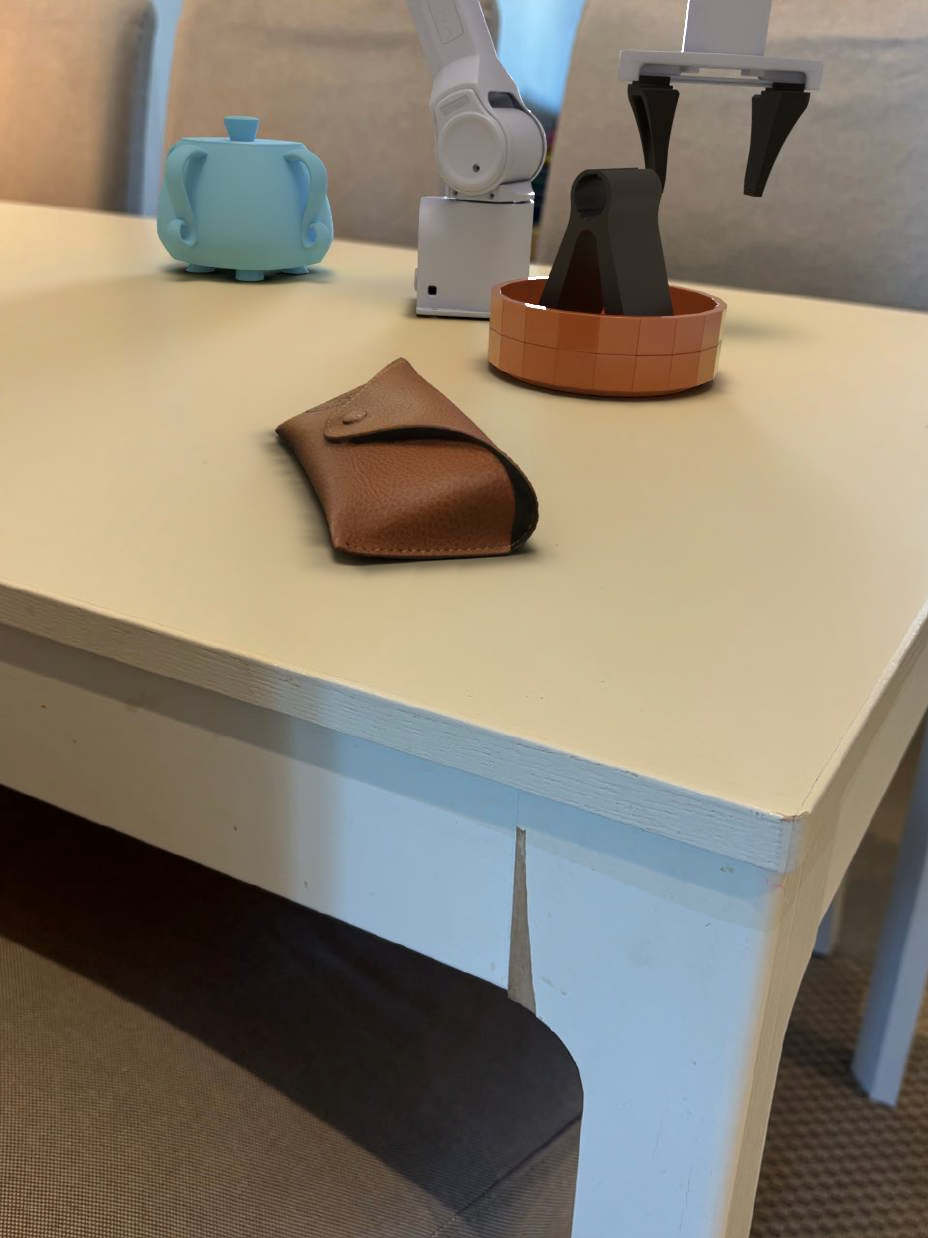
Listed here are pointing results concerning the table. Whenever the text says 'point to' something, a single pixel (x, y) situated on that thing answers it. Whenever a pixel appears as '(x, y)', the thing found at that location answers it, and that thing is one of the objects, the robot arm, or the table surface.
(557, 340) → the bowl
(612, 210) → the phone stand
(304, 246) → the decorative pot
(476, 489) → the sunglasses case
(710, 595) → the table surface
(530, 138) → the robot arm
